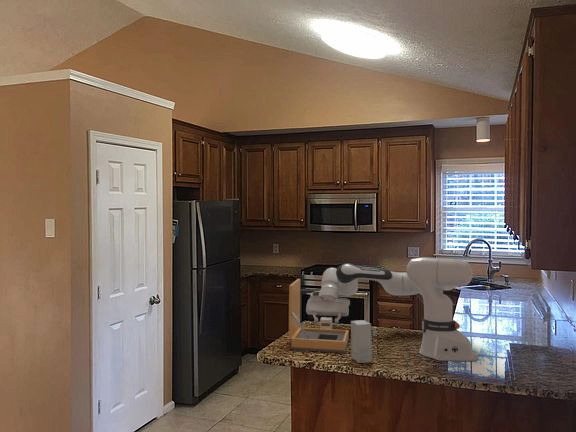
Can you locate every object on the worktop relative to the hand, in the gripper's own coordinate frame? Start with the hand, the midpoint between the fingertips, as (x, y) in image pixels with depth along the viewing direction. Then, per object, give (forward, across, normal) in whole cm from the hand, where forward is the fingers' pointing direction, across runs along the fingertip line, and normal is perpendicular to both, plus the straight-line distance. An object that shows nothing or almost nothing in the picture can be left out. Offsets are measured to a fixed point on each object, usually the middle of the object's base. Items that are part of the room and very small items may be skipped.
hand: (326, 322), depth 240 cm
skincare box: (+30, -18, +22) cm, 42 cm away
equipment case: (+17, 0, +10) cm, 20 cm away
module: (+5, 0, -3) cm, 6 cm away
